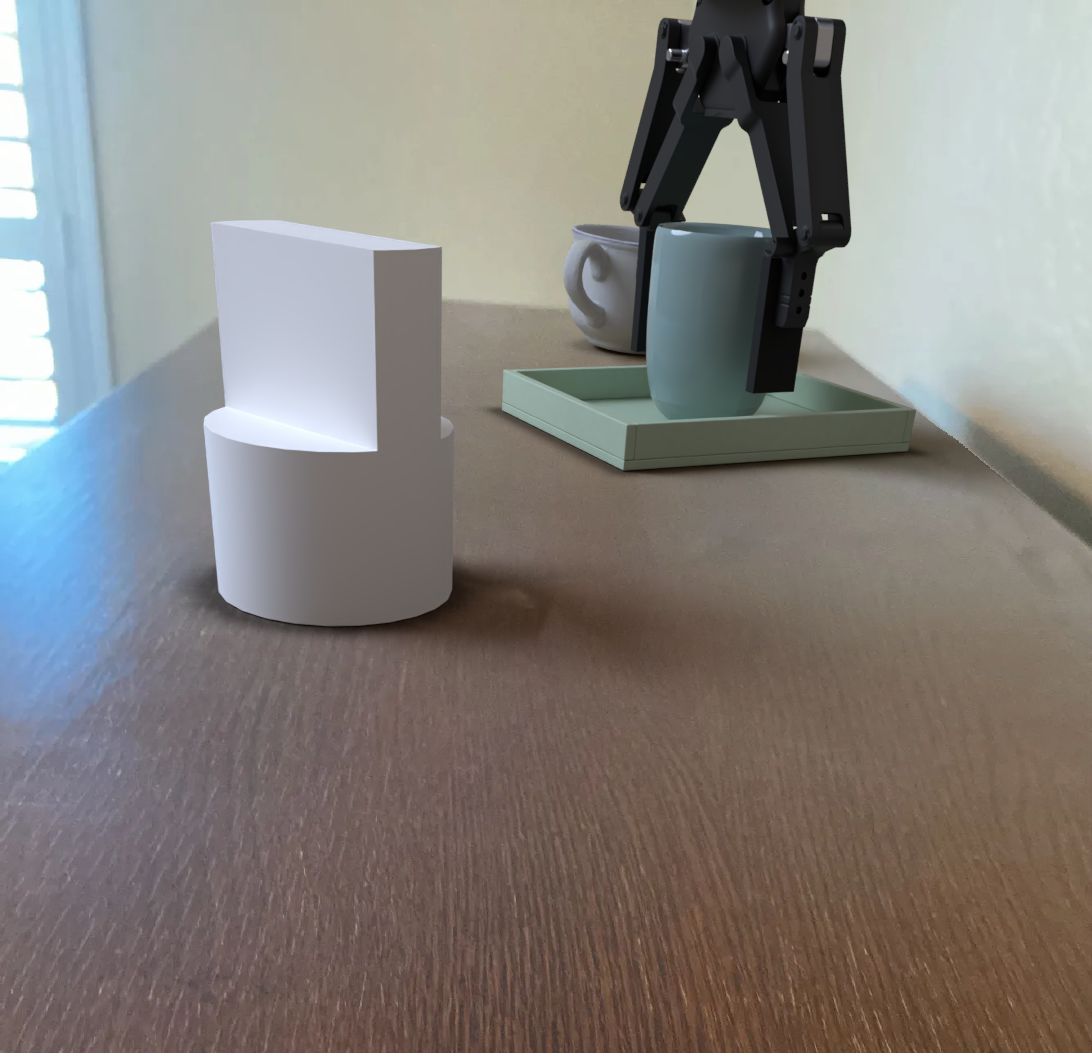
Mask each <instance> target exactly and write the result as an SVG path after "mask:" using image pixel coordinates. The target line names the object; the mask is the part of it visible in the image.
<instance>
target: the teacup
mask: <svg viewBox="0 0 1092 1053" xmlns="http://www.w3.org/2000/svg"><path fill="white" fill-rule="evenodd" d="M571 232H572V236H573V237H572V239H573V240H572V245H571V247H570V248H569V249H568V252H567V254H566V257H565V259H564V264H563V272H562V274H563V275H562V276H563V285H564V288H565V291H566V293H567V295H568V309H569V313H570V317H571V319H572V321H573V322H574V324H575V325H576V326H577V328H578V329H579V330H580V331H581V332H582V333H583V335H584V338H585V339H586V340H587V342H588V343H589V344H591V345H593V346H596V347H600V348H602V349H606V350H608V351H614V352H618V353H626V354H632V355H645V356H646V352H635V351H632V350H631V338H632V326H633V313H634V301H635V289H636V268H637V259H638V257H637V256H638V244H639V227H638V226H628V225H619V224H601V223H597V224H595V223H583V224H575V225H574V226H572V230H571Z"/></svg>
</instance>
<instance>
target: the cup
mask: <svg viewBox="0 0 1092 1053" xmlns="http://www.w3.org/2000/svg"><path fill="white" fill-rule="evenodd" d="M772 241H773V239H772V234H771V230H770V227H769V228H768V227H761V226H753V225H743V224H742V225H741V224H729V223H717V222H698V221H697V222H695V221H694V222H693V221H685V222H671V223H662V224H659V225H658V226H657V229H656V233H655V239H654V247H653V256H652V267H651V278H650V290H649V303H648V317H647V337H646V355H645V362H646V363H645V365H647V379H648V386H649V391H650V395H651V398H652V400H653V403H654V405H655V406H656V408H657V409H658V411H659V412H660V413H661V414H662V415H663V416H664V417H666V418H667V419H669V420H680V419H699V418H718V417H737V416H753V415H754V414H755V413H756V412H757V411H758V409H759V408H760V406H761V405H762V403H763V401H764V399H765V397H766V395H767V393H757V394H753V393H750V392H747V391H745V390H746V382H747V375H748V367H749V359H750V352H751V344H752V336H753V328H754V321H755V313H756V305H757V297H758V290H759V282H760V274H761V266H762V259H763V256H765V254H764V252H763V251H764V250H767V249H766V248H767V246H768V245H769V244H770V243H771V242H772Z"/></svg>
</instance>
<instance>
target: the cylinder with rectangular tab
mask: <svg viewBox="0 0 1092 1053" xmlns="http://www.w3.org/2000/svg"><path fill="white" fill-rule="evenodd" d="M210 230H211V231H210V232H211V233H210V234H211V247H212V257H213V258H212V259H213V271H214V284H215V296H216V297H215V298H216V307H217V321H218V332H219V334H218V335H219V346H220V356H221V371H222V382H223V395H224V406H223V407H220V408H217V409H214V410H212V411H211V412H209V413H208V414H207V415H205V416H204V418H203V434H204V446H205V456H206V466H207V478H208V490H209V501H210V511H211V512H210V513H211V524H212V532H213V544H214V555H215V565H216V566H215V568H216V578H217V589H218V590H217V591H218V593H219V594H220V596H221V597H222V599H224V601H225V602H226V603H228V604H229V605H231V606H233V607H236V608H237V609H238V610H240V611H242V612H244V613H248V614H251V615H254V616H258V617H260V618H264V619H268V620H273V621H278V622H284V623H289V624H294V625H295V624H296V625H308V626H309V625H310V626H323V627H347V626H348V627H352V626H353V627H355V626H356V627H357V626H359V627H360V626H367V625H377V624H387V623H394V622H397V621H402V620H407V619H411V618H416V617H418V616H421V615H423V614H426V613H429V612H431V611H434V610H436V609H437V608H439V607H440V606H442V605H443V604H444V603H446V602H447V601H448V600H449V598H450V596H451V593H452V591H453V559H454V558H453V556H454V555H453V554H454V553H453V552H454V551H453V549H454V547H453V546H454V473H455V472H454V471H455V470H454V467H455V464H454V462H455V461H454V460H455V459H454V458H455V427H454V425H453V423H452V422H451V420H449V419H448V418H446V417H445V416H442V322H443V321H442V318H443V317H442V314H443V312H442V311H443V309H442V308H443V307H442V306H443V303H442V302H443V300H442V299H443V298H442V296H443V295H442V294H443V293H442V292H443V290H442V289H443V246H440V245H434V244H429V243H422V242H415V241H409V240H404V239H397V238H391V237H385V236H378V235H372V234H367V233H360V232H355V231H349V230H341V229H337V228H336V229H335V228H329V227H324V226H319V225H318V226H317V225H312V224H305V223H301V222H299V223H298V222H293V221H287V220H280V219H252V220H251V219H242V220H240V219H239V220H221V221H219V220H218V221H210Z"/></svg>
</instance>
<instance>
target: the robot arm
mask: <svg viewBox="0 0 1092 1053" xmlns="http://www.w3.org/2000/svg"><path fill="white" fill-rule="evenodd" d="M805 10H806V0H696V3H695V8H694V13H693V17H692V19H685V18H673V17H662V19H661V20H660V21H659V24H658V28H657V34H656V35H657V36H656V43H655V44H656V45H655V53H654V54H655V55H654V62H653V63H654V64H653V69H652V73H651V77H650V80H649V84H648V88H647V93H646V96H645V100H644V103H643V107H642V110H641V115H640V118H639V122H638V127H637V130H636V134H635V138H634V142H633V145H632V148H631V153H630V157H629V161H628V164H627V168H626V171H625V175H624V180H623V182H622V187H621V192H620V195H619V206H620V210H622V211H623V212H630V213H631V214H632V215H633V221H634V225H635V227H639V244H638V256H637V257H638V259H637V268H636V289H635V301H634V313H633V326H632V338H631V350H632V351H635V352H646V337H647V317H648V303H649V290H650V278H651V267H652V256H653V247H654V239H655V233H656V229H657V226H658V225H659V224H662V223H671V222H687V218H686V215H684V210H685V208H686V206H687V204H688V202H689V200H690V197H691V195H692V193H693V191H694V188H695V186H696V185H697V183H698V180H699V178H700V176H701V174H702V171H703V170H704V167H705V165H706V163H707V161H708V159H709V157H710V155H711V153H712V150H713V148H714V147H715V144H716V142H717V140H718V138H719V136H720V133H721V131H722V130H724V129H725V128H727V127H729V126H730V125H731V124H732V123H733V122H734V120H736V121H737V123H738V126H739V128H741V130H742V131H744V132H745V133H746V134H747V136H748V138H749V142H750V146H751V150H752V156H753V160H754V164H755V169H756V172H757V177H758V181H759V185H760V190H761V194H762V200H763V203H764V207H765V212H766V217H767V221H768V225H769V228H770V230H771V234H772V239H773V241H772V242H771V243H770V244H769V245H768V246H767V248H766V249H767V250H764V251H763V252H764V254H765V256H763V259H762V266H761V274H760V282H759V290H758V297H757V305H756V313H755V321H754V328H753V336H752V344H751V352H750V359H749V367H748V375H747V382H746V390H745V391H747V392H750V393H753V394H757V393H780V392H794V387H795V381H796V374H797V371H798V366H799V359H800V355H801V354H800V353H801V346H802V339H803V334H804V328H806V325H807V323H808V321H809V318H810V312H811V304H812V298H813V297H812V296H813V293H814V292H813V291H814V285H815V279H816V271H817V266H818V263H819V260H820V258H822V257H824V255H825V253H826V252H828V251H831V250H834V249H836V248H837V249H838V248H840V249H842V248H846V246H848V245H849V243H850V242H851V239H852V218H851V203H850V202H851V201H850V189H849V188H850V187H849V174H848V173H849V172H848V158H847V156H848V155H847V144H846V143H847V142H846V130H845V113H844V99H843V86H842V85H843V83H842V72H843V62H844V54H845V45H846V37H847V26H846V23H845V20H843V19H841V18H830V17H821V16H809V15H806V14H805V13H806V12H805ZM642 184H644V186H643V188H641V187H642ZM823 215H827V219H823Z"/></svg>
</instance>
